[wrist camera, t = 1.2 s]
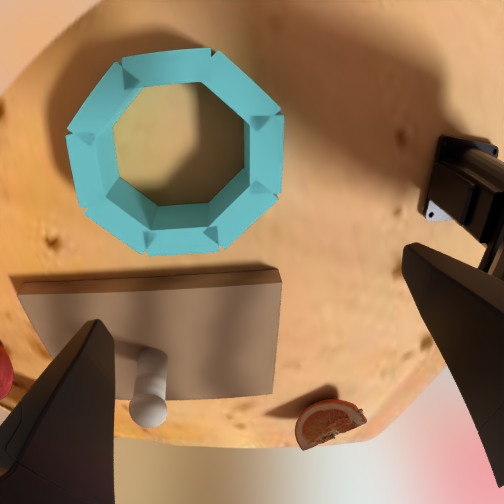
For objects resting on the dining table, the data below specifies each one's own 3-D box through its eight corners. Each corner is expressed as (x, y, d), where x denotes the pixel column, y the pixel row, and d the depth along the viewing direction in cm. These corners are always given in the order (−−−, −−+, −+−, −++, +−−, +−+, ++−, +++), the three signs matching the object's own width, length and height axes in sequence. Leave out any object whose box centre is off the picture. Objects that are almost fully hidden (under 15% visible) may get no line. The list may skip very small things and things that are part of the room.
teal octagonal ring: (273, 50, 15) (285, 47, 12) (269, 222, 20) (278, 248, 18) (81, 68, 14) (58, 71, 11) (106, 233, 19) (94, 259, 17)
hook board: (278, 269, 23) (304, 358, 16) (270, 381, 30) (283, 451, 24) (23, 282, 21) (-17, 357, 14) (80, 385, 28) (67, 449, 22)
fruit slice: (346, 379, 32) (359, 416, 28) (364, 397, 36) (376, 430, 32) (281, 409, 34) (288, 446, 30) (306, 424, 38) (314, 456, 33)
